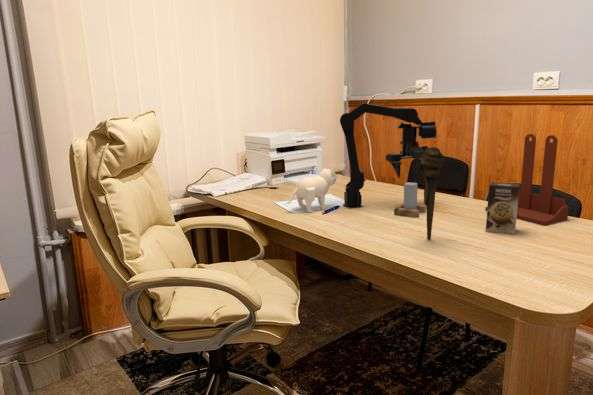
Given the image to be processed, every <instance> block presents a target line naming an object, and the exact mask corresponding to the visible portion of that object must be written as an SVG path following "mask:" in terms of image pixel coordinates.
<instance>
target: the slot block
mask: <svg viewBox="0 0 593 395" xmlns="http://www.w3.org/2000/svg"><path fill="white" fill-rule="evenodd" d="M393 211H394V216H400V217H407V218H415V219H417V218H419V217H420V213H423V214H424V213H425V212H427V209H426V205H425V204H418V203H417V210H414V209H406V208H404V202H403V203H401V204H400V205H398V206H397V207H394V208H393Z"/></svg>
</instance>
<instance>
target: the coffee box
mask: <svg viewBox="0 0 593 395" xmlns="http://www.w3.org/2000/svg"><path fill="white" fill-rule="evenodd" d="M520 188H521V183H514V182H498V181H490V183H489V185H488V194H487V195H488V197H487V198H488V199H487V207H488V208H487V211H486V220H485V221H486V222H485V223H486V224H485V231H484V232H489V233H490V232H492V233H498V234H499V233H500V234H509V235H515V234H516V228H517V227H516V226H517V219H516V218H517V208H518V197H519V191H520Z"/></svg>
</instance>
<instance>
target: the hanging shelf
mask: <svg viewBox="0 0 593 395" xmlns="http://www.w3.org/2000/svg"><path fill="white" fill-rule="evenodd" d="M530 138H531V140H530ZM551 140H552V142H551ZM544 142H545V143H544V151H543V152H544V153H543V160H542V161H543V163H542V174H541V182H540V192H539V193H538V194H537V193H533V192H532V189H533V188H532V186H533V176H534V166H535V156H536V155H535V153H536V145H537V137H536V135H535V134H533V133H529V134H526V136H525V137H524V147H523V158H522V167H521V168H522V169H521V181H520V190H519V197H518V208H517V218H516V220H519V221H524V222H527V223H531V224H534V225H539V226H543V227H546V226H549V225H552V224H556V223H561V222H564V221H568V217H569V208H570V206H569V205H567V204H566V201H565V199H564V198H559V197H554V196H553V187H554V179H555V170H556V160H557V151H558V150H557V149H558V137H557V136H556V135H553V134H550V135H547V137H545V141H544ZM487 208H488V206H485V209H484V210H485V212H487Z"/></svg>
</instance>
